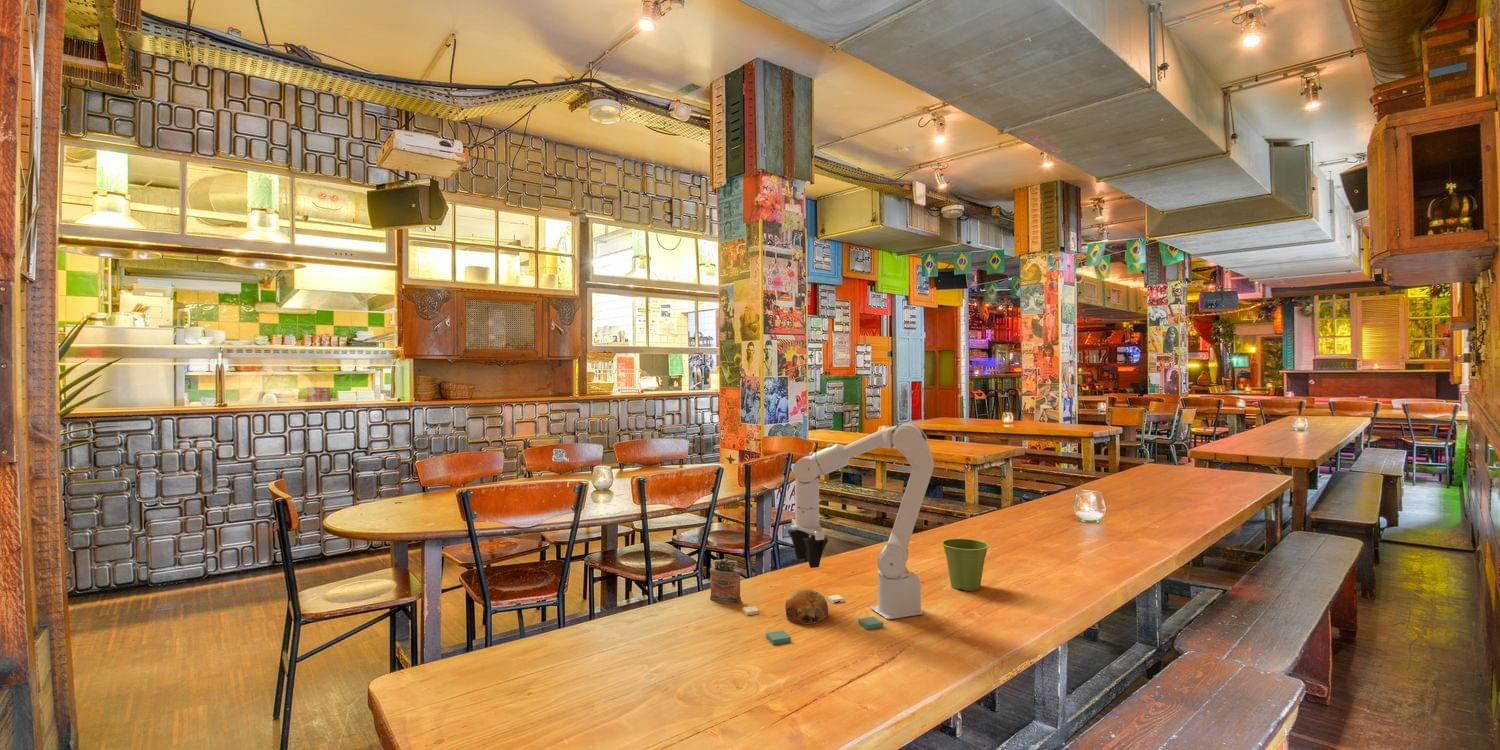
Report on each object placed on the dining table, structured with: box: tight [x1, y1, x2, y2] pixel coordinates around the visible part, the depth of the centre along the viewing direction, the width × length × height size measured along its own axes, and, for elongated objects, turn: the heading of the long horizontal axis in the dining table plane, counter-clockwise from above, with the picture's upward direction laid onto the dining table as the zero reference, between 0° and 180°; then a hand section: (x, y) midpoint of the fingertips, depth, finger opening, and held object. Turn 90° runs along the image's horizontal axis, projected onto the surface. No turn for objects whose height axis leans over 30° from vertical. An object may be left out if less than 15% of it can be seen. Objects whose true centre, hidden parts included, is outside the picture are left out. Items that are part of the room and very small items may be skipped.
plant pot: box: [941, 537, 990, 592], centre depth 174 cm, size 12×12×11 cm
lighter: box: [709, 558, 742, 604], centre depth 165 cm, size 8×3×10 cm, turn 68°
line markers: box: [742, 594, 884, 646], centre depth 152 cm, size 26×20×1 cm
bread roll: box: [784, 588, 829, 624], centre depth 154 cm, size 10×10×8 cm
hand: (807, 562), depth 162 cm, fingers open, 7 cm apart
